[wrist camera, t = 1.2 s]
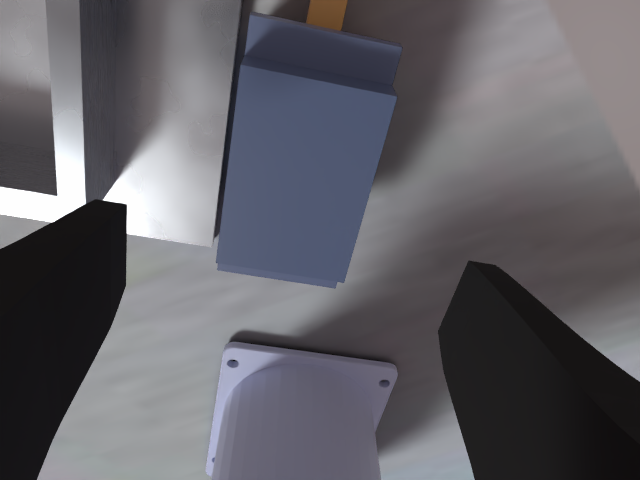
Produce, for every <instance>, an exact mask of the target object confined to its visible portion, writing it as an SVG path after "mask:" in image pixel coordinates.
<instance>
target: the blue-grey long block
mask: <svg viewBox="0 0 640 480" xmlns="http://www.w3.org/2000/svg"><path fill="white" fill-rule="evenodd" d="M347 1H348V0H310V3H309V9H308V14H307V20H306V23H302V22H298V21H293V20H288V19H284V18H279V17H275V16H270V15H265V14H261V13H256V12H251V14H250V17H249V25H248V33H247V41H246V49H245V56H244V58H243V60H242V62H241V65H240V73H239V81H238V89H237V97H236V105H235V113H234V121H233V129H232V137H231V145H230V153H229V161H228V169H227V177H226V185H225V193H224V201H223V209H222V217H221V225H220V234H219V242H218V250H217V258H216V263H218V268H217V270H219V271H226V272H232V273H239V274H245V275H252V276H258V277H265V278H271V279H278V280H284V281H291V282H297V283H304V284H310V285H317V286H323V287H329V288H336V285H337V282H341V283H344V281H345V278H346V274H347V271H348V267H349V264H350V260H351V257H352V253H353V250H354V246H355V243H356V239H357V236H358V232H359V229H360V225H361V222H362V218H363V215H364V211H365V208H366V205H367V201H368V198H369V194H370V191H371V187H372V184H373V180H374V177H375V173H376V170H377V166H378V163H379V159H380V156H381V152H382V149H383V145H384V142H385V138H386V135H387V131H388V128H389V125H390V121H391V118H392V114H393V111H394V107H395V104H396V100H397V95H396V93H395V90H394V88H393V86H392V84H393V81H394V77H395V74H396V70H397V66H398V63H399V59H400V56H401V52H402V46H401V45H400V44H399V43H394V42H390V41H385V40H381V39H376V38H371V37H367V36H362V35H358V34H353V33H348V32H344V31H341V29H342V24H343V19H344V15H345V10H346V5H347Z"/></svg>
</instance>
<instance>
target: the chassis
mask: <svg viewBox="0 0 640 480" xmlns="http://www.w3.org/2000/svg"><path fill="white" fill-rule="evenodd" d="M242 3H243V0H0V214H5V215H12V216H18V217H24V218H31V219H37V220H43V221H49V222H54V221H55V220H57V219H59V218H61V217H63V216H64V215H66V214H68V213H70V212H72V211H73V210H75V209H77V208H79V207H81V206H83V205H84V204H86V203H88V202H90V201H93V200H95V199H98V200H104V201H110V202H116V203H123V204H127V234H131V235H138V236H144V237H150V238H156V239H163V240H169V241H175V242H182V243H188V244H194V245H201V246H207V247H212V246H213V242H214V238H215V229H216V221H217V213H218V204H219V196H220V187H221V179H222V171H223V162H224V154H225V145H226V137H227V129H228V120H229V112H230V103H231V95H232V87H233V78H234V70H235V61H236V53H237V45H238V36H239V28H240V19H241V11H242Z"/></svg>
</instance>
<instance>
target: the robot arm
mask: <svg viewBox="0 0 640 480" xmlns="http://www.w3.org/2000/svg"><path fill="white" fill-rule="evenodd" d="M126 242H127V204H123V203H116V202H110V201H104V200H98V199H95V200H93V201H90V202H88V203H86V204H84V205H83V206H81V207H79V208H77V209H75V210H73V211H72V212H70V213H68V214H66V215H64V216H63V217H61V218H59V219H57V220H55V221H54V222H52V223H50V224H48V225H46V226H44V227H43V228H41V229H39V230H37V231H35V232H33V233H31V234H30V235H28V236H26V237H24V238H22V239H20V240H18V241H16V242H14V243H12V244H10V245H8V246H6V247H4V248H2V249H0V480H37V478H38V475H39V473H40V470H41V468H42V465H43V463H44V460H45V458H46V455H47V453H48V450H49V448H50V445H51V443H52V440H53V438H54V436H55V434H56V432H57V430H58V428H59V426H60V423H61V421H62V419H63V417H64V415H65V414H66V412H67V410H68V408H69V406H70V404H71V402H72V400H73V398H74V397H75V395H76V393H77V391H78V389H79V387H80V385H81V383H82V381H83V380H84V378H85V376H86V374H87V372H88V370H89V368H90V366H91V364H92V363H93V361H94V359H95V357H96V355H97V353H98V351H99V349H100V347H101V345H102V343H103V341H104V340H105V338H106V336H107V334H108V332H109V330H110V328H111V325H112V323H113V320H114V317H115V315H116V312H117V309H118V307H119V304H120V301H121V298H122V295H123V292H124V289H125V287H126ZM438 334H439V342H440V350H441V357H442V364H443V370H444V374H445V378H446V382H447V385H448V389H449V392H450V396H451V399H452V403H453V406H454V409H455V413H456V416H457V419H458V423H459V426H460V429H461V433H462V436H463V439H464V443H465V446H466V450H467V453H468V456H469V460H470V463H471V466H472V470H473V474H474V478H475V480H640V382H639V381H638V380H636V379H635V378H633V377H632V376H630V375H629V374H628V373H626V372H625V371H624V370H622V369H621V368H620V367H618V366H617V365H616V364H614V363H613V362H612V361H610V360H609V359H608V358H607V357H605V356H604V355H603V354H602V353H600V352H599V351H598V350H596V349H595V348H594V347H593V346H591V345H590V344H589V343H588V342H586V341H585V340H584V339H583V338H582V337H580V336H579V335H578V334H577V333H575V332H574V331H573V330H572V329H571V328H570V327H568V326H567V325H566V324H565V323H564V322H562V321H561V320H560V319H559V318H558V317H557V316H556V315H554V314H553V313H552V312H551V311H550V310H549V309H547V308H546V307H545V306H544V305H543V304H542V303H541V302H539V301H538V300H537V299H536V298H535V297H534V296H533V295H531V294H530V293H529V292H528V291H527V290H526V289H525V288H523V287H522V286H521V285H520V284H519V283H518V282H516V281H515V280H514V279H513V278H512V277H510V276H509V275H508V274H507V273H505V272H504V271H503V270H501V269H500V268H499V267H497V266H496V265H491V264H485V263H479V262H473V261H468V263H467V266H466V268H465V270H464V272H463V275H462V277H461V279H460V282H459V284H458V286H457V289H456V291H455V293H454V296H453V298H452V300H451V303H450V305H449V307H448V309H447V312H446V314H445V316H444V319H443V321H442V323H441V326H440V328H439V330H438ZM232 359H234V360H237V361H230V360H232ZM397 377H398V372H397V368H396V366H395V365H394V364H391V363H387V362H380V361H372V360H365V359H358V358H350V357H343V356H336V355H329V354H321V353H314V352H307V351H299V350H292V349H285V348H278V347H270V346H263V345H256V344H248V343H241V342H230V343H228V344H226V345H225V347H224V350H223V356H222V363H221V370H220V376H219V383H218V390H217V396H216V403H215V410H214V416H213V423H212V430H211V437H210V443H209V450H208V457H207V463H206V473H207V474H208V475H209V476H211V477H212V478H211V480H381V475H380V467H379V460H378V452H377V444H376V436H375V432H376V429H377V427H378V424H379V422H380V419H381V417H382V414H383V412H384V409H385V407H386V404H387V402H388V399H389V397H390V394H391V392H392V389H393V387H394V384H395V382H396V379H397ZM381 380H386V381H381Z"/></svg>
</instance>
